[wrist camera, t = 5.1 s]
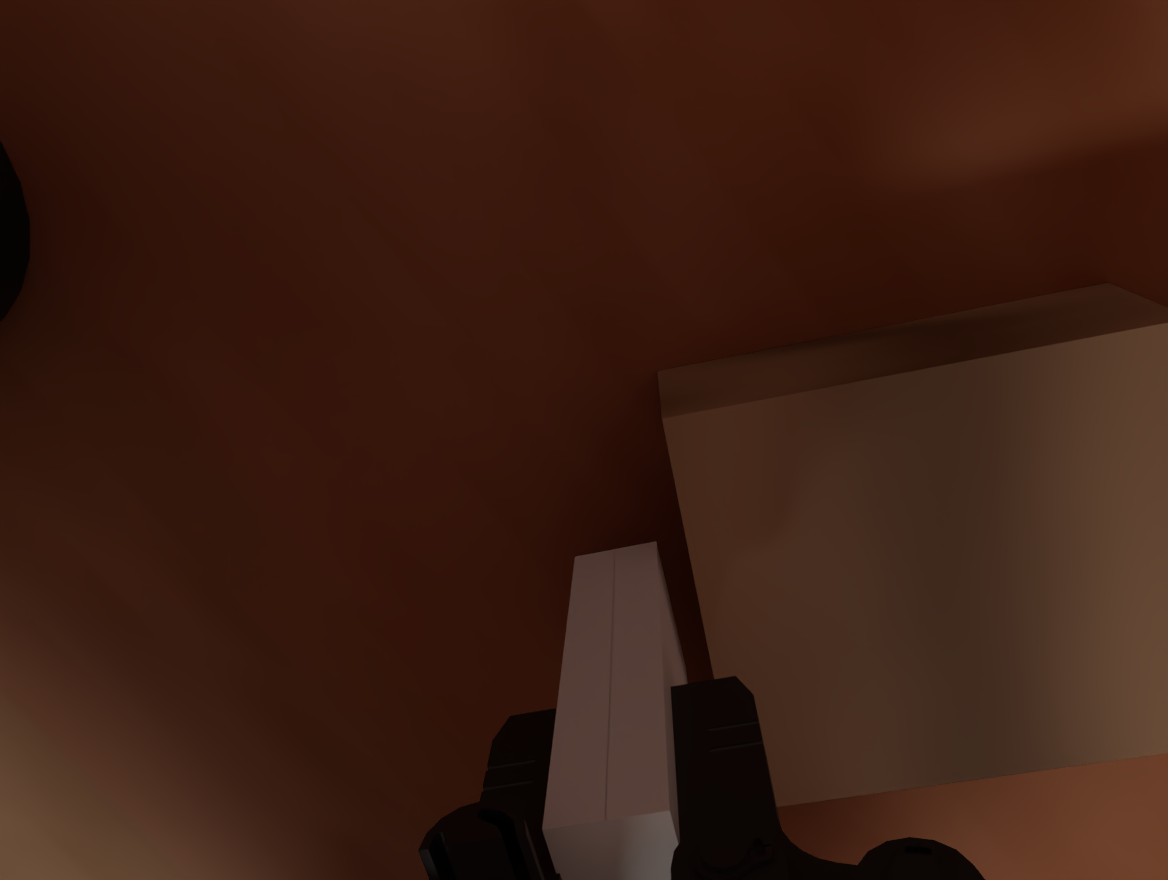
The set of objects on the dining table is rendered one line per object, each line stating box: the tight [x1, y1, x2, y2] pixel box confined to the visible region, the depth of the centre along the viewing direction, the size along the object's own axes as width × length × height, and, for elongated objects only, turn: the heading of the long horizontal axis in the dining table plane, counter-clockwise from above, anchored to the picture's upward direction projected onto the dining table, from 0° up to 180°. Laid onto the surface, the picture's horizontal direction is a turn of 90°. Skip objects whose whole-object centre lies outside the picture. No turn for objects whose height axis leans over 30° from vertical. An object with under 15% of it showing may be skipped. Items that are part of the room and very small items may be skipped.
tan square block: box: [657, 283, 1168, 807], centre depth 17 cm, size 8×8×3 cm
